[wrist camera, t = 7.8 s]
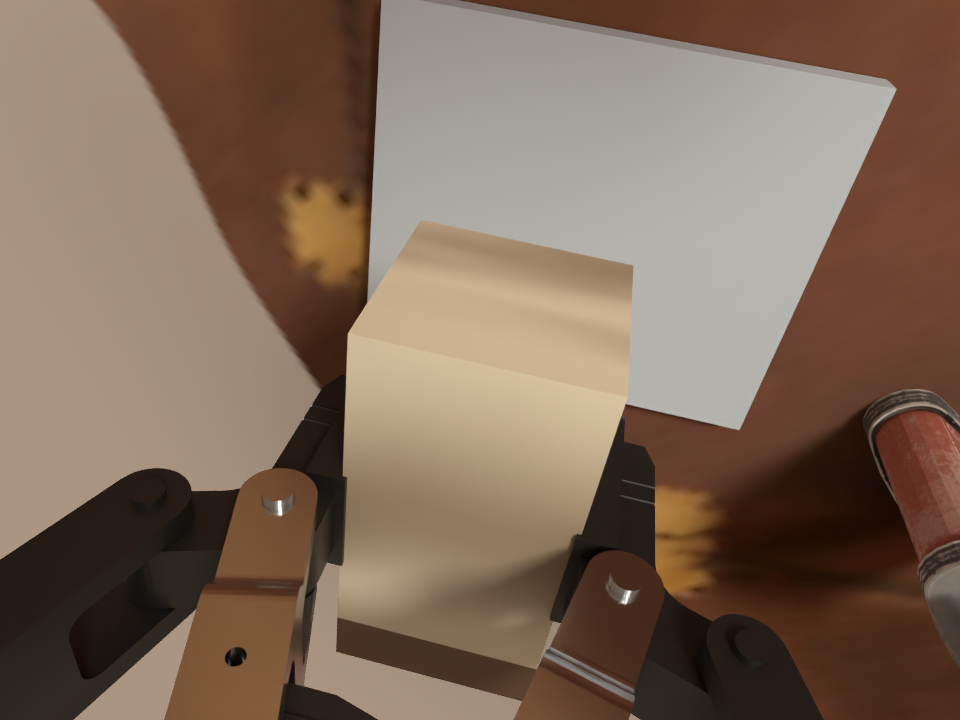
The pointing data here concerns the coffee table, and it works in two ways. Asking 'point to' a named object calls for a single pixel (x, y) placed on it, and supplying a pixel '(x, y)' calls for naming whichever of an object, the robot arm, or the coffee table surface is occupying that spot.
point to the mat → (625, 174)
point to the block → (475, 449)
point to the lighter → (924, 492)
